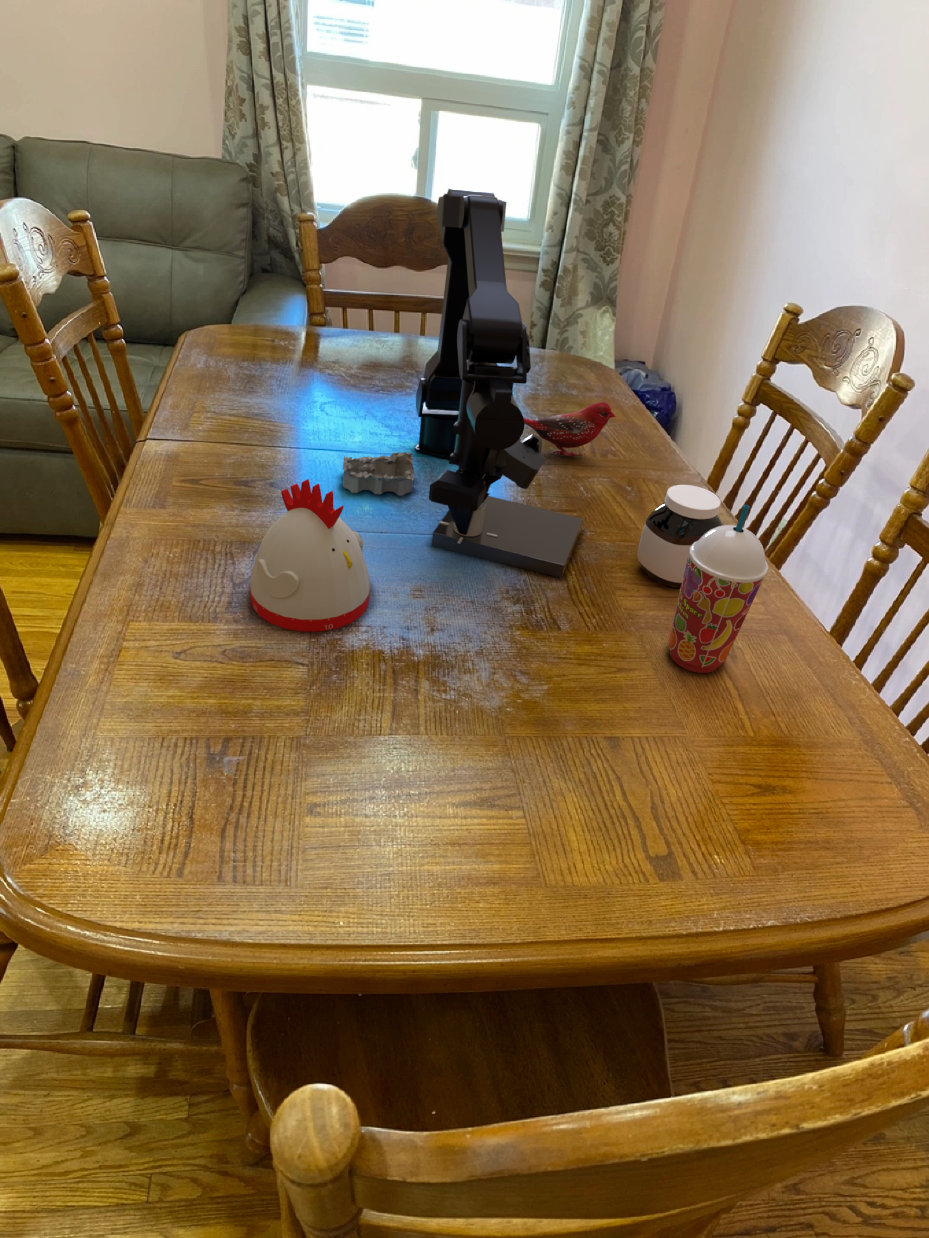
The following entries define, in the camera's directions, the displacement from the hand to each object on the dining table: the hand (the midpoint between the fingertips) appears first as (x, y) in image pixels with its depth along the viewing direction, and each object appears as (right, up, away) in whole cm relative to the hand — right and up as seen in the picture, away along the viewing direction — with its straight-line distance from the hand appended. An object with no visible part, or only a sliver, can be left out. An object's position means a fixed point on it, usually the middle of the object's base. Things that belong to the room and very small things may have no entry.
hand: (467, 526), depth 111 cm
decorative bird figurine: (+15, +15, +28) cm, 35 cm away
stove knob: (0, 0, 0) cm, 0 cm away
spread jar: (+27, -5, +2) cm, 28 cm away
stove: (+6, -1, +4) cm, 7 cm away
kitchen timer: (-19, -10, -13) cm, 25 cm away
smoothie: (+26, -17, -15) cm, 35 cm away
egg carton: (-13, +8, +13) cm, 20 cm away
